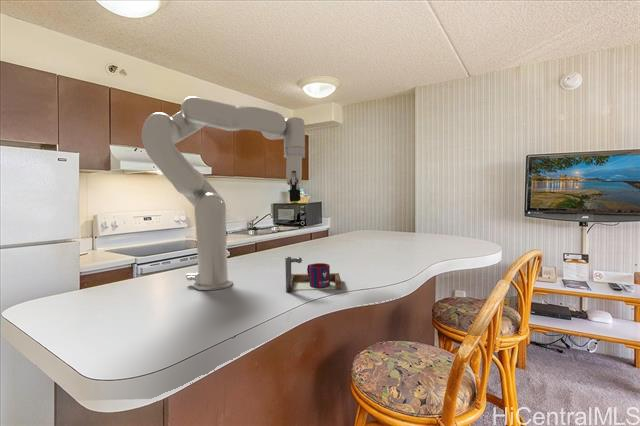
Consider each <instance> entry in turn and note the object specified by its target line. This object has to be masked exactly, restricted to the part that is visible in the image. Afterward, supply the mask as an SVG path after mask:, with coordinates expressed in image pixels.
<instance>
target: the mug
mask: <svg viewBox="0 0 640 426" xmlns="http://www.w3.org/2000/svg"><path fill="white" fill-rule="evenodd" d="M330 267H331V265H330V264H328V263H325V262H324V263H322V262H317V263H315V262H314V263H309V264H308V265H307V268H306V271H307V272H306V274H308V276H309V278H310V286H311V287H313V288H326V287H329V286H330V273H331V271H330V270H331V268H330Z"/></svg>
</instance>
